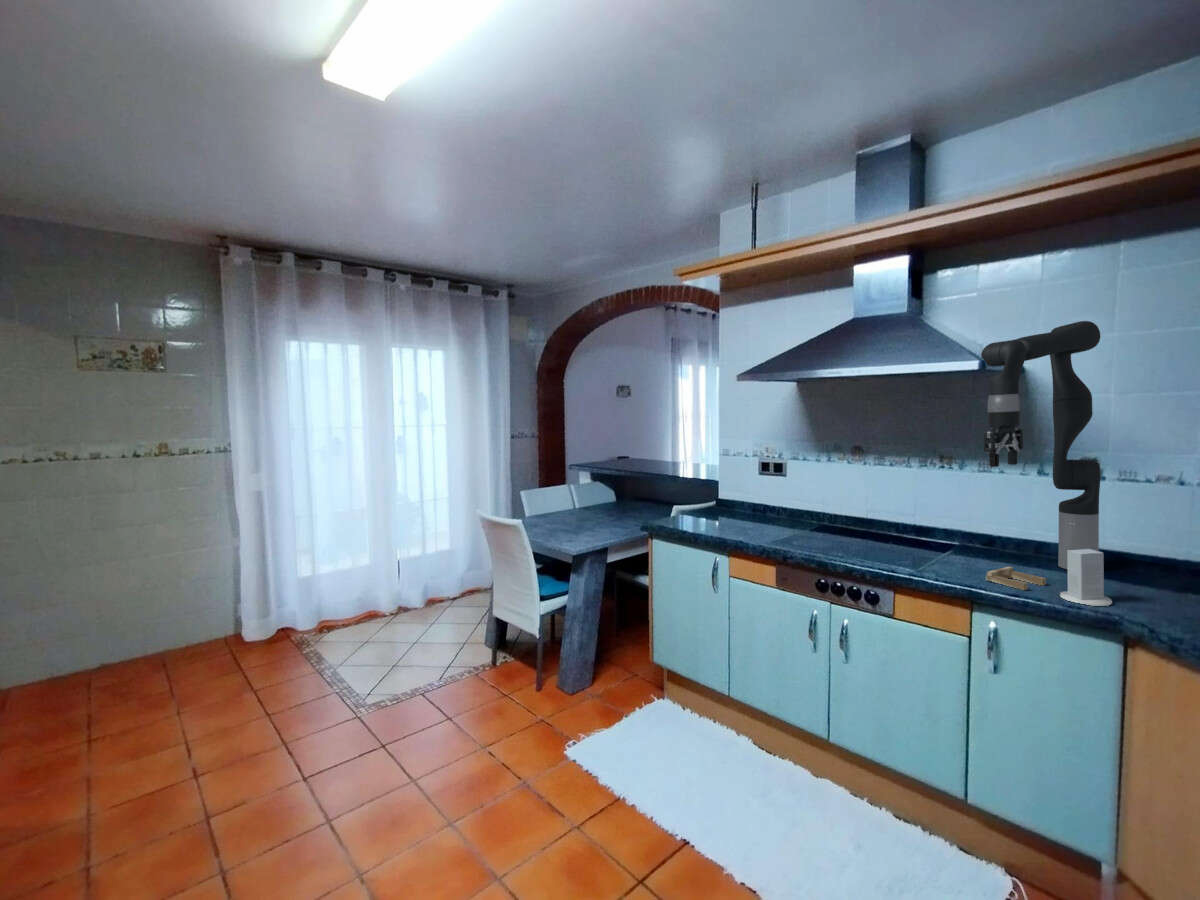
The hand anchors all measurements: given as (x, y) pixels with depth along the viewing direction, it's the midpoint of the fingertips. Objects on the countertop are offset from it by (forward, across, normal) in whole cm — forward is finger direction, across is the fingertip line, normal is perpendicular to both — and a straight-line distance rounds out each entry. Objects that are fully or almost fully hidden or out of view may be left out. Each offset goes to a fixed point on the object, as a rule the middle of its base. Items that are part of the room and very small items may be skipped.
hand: (1003, 465), depth 161 cm
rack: (+33, -4, -6) cm, 34 cm away
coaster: (+33, -4, -22) cm, 40 cm away
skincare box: (+32, -4, -22) cm, 39 cm away
